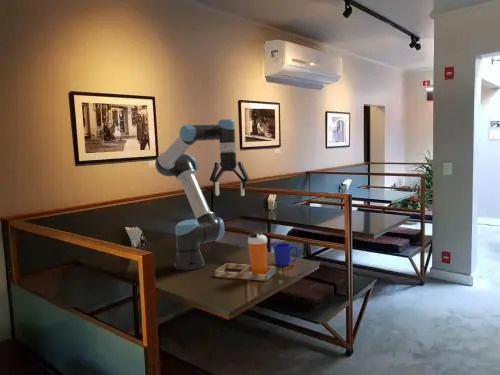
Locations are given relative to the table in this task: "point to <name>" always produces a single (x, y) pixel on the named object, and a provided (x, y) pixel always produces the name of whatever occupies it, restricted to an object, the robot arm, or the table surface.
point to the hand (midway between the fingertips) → (230, 195)
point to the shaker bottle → (258, 253)
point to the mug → (283, 254)
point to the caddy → (243, 272)
